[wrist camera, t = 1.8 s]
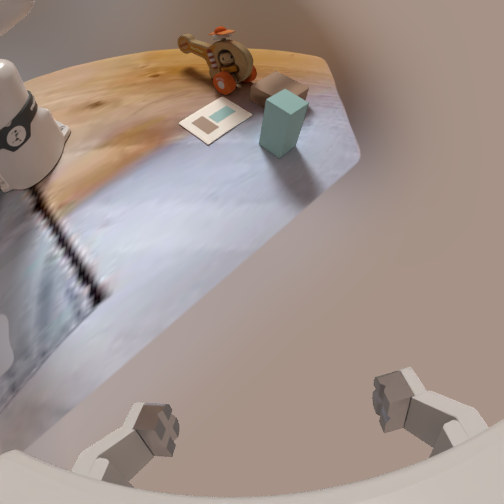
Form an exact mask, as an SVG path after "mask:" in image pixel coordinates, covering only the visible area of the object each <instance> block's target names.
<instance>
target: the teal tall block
mask: <svg viewBox="0 0 504 504" xmlns="http://www.w3.org/2000/svg"><path fill="white" fill-rule="evenodd" d="M308 104H309V103H308V102H307V101H305V100H303V99H302V98H300V97H298V96H297V95H295V94H293V93H292V92H290V91H288V90H286V89H284V90H282V91H280V92H278V93H277V94H275V95H273V96H271V97H270V98H268V99H266V103H265V109H264V116H263V122H262V128H261V134H260V141H259V144H260V145H261V146H262V147H264V148H265V149H267V150H268V151H269V152H271V153H272V154H274V155H275V156H276V157H278V158H279V159H280V158H281V157H282V156H284V155H285V154H286V153H287V152H289V151H290V150H291V149H292V148H294V147H295V146H296V143H297V140H298V137H299V134H300V130H301V127H302V124H303V121H304V117H305V114H306V111H307V108H308Z"/></svg>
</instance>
